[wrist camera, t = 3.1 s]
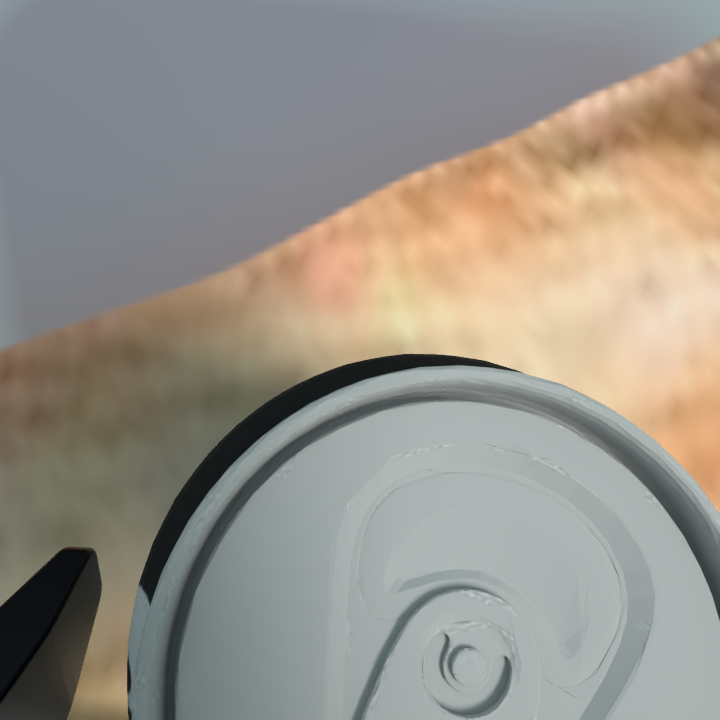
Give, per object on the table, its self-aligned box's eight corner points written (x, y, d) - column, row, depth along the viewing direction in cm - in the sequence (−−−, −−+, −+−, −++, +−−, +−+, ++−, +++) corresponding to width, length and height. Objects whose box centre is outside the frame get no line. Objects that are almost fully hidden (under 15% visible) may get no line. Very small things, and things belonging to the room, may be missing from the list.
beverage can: (500, 478, 18) (888, 465, 6) (425, 715, 16) (745, 1297, 5) (286, 395, 18) (262, 219, 6) (191, 627, 16) (-85, 997, 5)
